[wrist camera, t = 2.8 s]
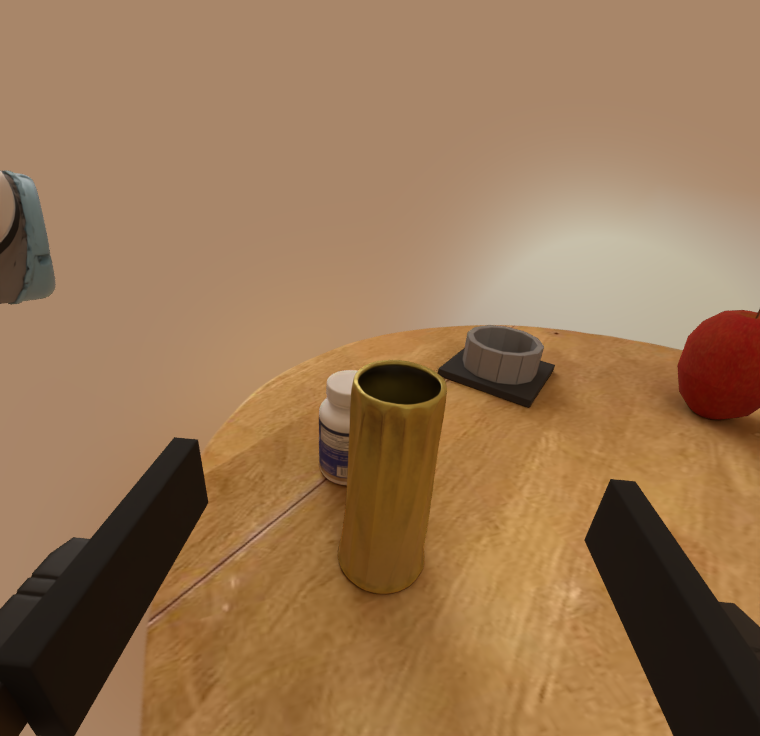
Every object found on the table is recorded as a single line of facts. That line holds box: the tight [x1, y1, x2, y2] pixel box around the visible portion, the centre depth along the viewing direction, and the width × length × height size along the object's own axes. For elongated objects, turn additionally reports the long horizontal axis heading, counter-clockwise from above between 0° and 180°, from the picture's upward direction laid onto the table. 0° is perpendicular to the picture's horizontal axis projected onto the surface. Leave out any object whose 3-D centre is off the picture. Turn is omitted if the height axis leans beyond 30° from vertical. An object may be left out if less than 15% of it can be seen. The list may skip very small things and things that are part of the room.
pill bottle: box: [319, 370, 357, 485], centre depth 35 cm, size 5×5×9 cm
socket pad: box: [438, 325, 555, 408], centre depth 55 cm, size 12×12×5 cm
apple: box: [678, 310, 760, 420], centre depth 48 cm, size 10×10×14 cm
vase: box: [338, 360, 447, 594], centre depth 26 cm, size 6×6×14 cm
